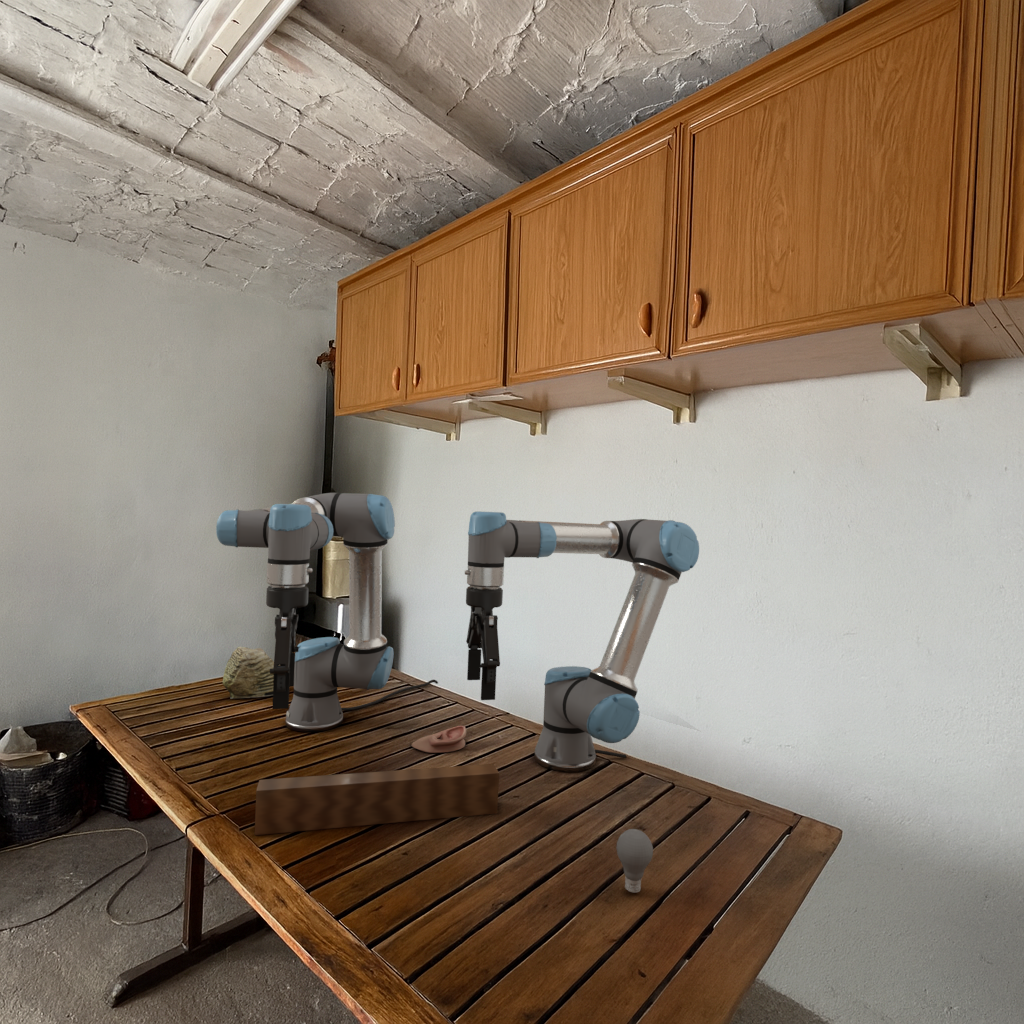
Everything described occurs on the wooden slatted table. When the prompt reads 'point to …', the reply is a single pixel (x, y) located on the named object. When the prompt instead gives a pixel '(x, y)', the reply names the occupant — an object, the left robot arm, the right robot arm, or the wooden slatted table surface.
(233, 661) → the fossil
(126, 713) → the wooden slatted table surface
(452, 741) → the anatomical model
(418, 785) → the plank
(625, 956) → the wooden slatted table surface
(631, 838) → the light bulb
